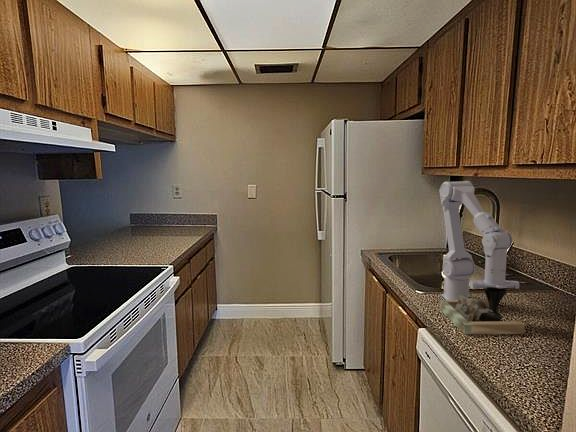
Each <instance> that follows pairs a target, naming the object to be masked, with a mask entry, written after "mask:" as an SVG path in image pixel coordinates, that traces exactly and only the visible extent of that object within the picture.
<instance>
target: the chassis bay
mask: <svg viewBox="0 0 576 432" xmlns="http://www.w3.org/2000/svg"><path fill="white" fill-rule="evenodd" d="M480 300H481V301H483V302H484V304H485V305H486V307H489V302H488V299H480ZM457 302H458V300H446V299H439V300H438V309H439V310H440V311H441V312H442V313H443V314H444V315H445V316H446V317H447V319H448V320H450V322H451V323H453V325H454V326H455V327H456V328H458V330H459V331H460V332H461V333H463V335H518V334H519V335H524V334H525V331H526V329H525V327H526V325H525V323H524V322H522V321H520V320H519V321H515V320H513V321H504V320H503V321H499V322H482V321H472V322H468V321H467V320H466V319H465V318H464V317H463V316H462V315H460V314H459V313H458V312H457V311H456V310H455V308H456V305H457ZM489 308H490V307H489Z"/></svg>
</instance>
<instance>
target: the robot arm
mask: <svg viewBox="0 0 576 432" xmlns="http://www.w3.org/2000/svg"><path fill="white" fill-rule="evenodd" d="M475 190H476V189H475V187H474V186H473V183H472V181H469V180H463V181H460V180H459V181H444V182H443V183H442V184H441V185H440V188H439V190H438V191H439V199H440V205H441V206H442V212H443V218H444V225H445V232H446V241H447V245H448V252H447V253H446V254H445V255H444V256H443V257H442V261H443V263H442V272H443V274H444V275H445V278H444V280H443V293H442V294H441V297H442V298H444V300H459V297H460V295H461V296H463V297H465V298H466V299H470V298H469V296H470V295H469V293H470V289H472V290H476V289H483V291H484V294H485V296H486V298H487V299H486V300H488V302H489V307H490V309H491V310H492V311H497V310H498V309H499V308H498V307H499V305H500V304H501V301H502V299H503V298H504V296H505V295H506V294H507V290H506V289H516V290H517V289H518V290H519V289H520V282H519V281H518V280H506V272H507V271H506V270H507V255H508V249H510V248H511V247H512V244H513V237H512V235H511V233H510V232H509V231H507V230H505V229H503V228H501V227H500V226H499V225H498V223H497V221H496V220H495V219H494V217H493V215H492V214H491V213H490V212H486V211H484V209H483V207H482V206H481V204H480V201H479V200H478V198H477V197H476V194H475ZM461 205H464V206H465V208H466V209H467V211H469V213H470V214H471V215H472V216H473V220H472V222H473V224H474V226H475V227H476V229H477V230H478V233H479V234H480V235H481V237H482V239H481V244H482V246H483V250H484V251H483V252H484V254H485V262H484V263H485V265H484V279H481V280H473V281H470V279H472V276H473V275H474V274H475V273H476V265H475V262H474V259H473V257H472V254H470V253H469V251H467V250H466V249H465V242H464V235H463V229H462V222H461V217H460V216H461V214H460V210H459V208H460V206H461ZM497 312H498V311H497Z"/></svg>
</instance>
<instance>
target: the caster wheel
mask: <svg viewBox="0 0 576 432" xmlns="http://www.w3.org/2000/svg"><path fill="white" fill-rule="evenodd" d="M481 300H482V299H479V298H474V297H473V298H468V299H466V298H465V297H463V296H461V295H460V297H459V300H458V302H457V305H456V308H455V310H456V311H457V312H458V313H459V314H460V315H462V316H463V317H464V318H465V319H466V320H467V321H468V322H473V321H474V319H475V320H476V321H477V322H499V321H501V320H502V315H501V313H499V311H492V310H491V309H490V308H489V307H486V305H485V304H484V302H483V301H481Z"/></svg>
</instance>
